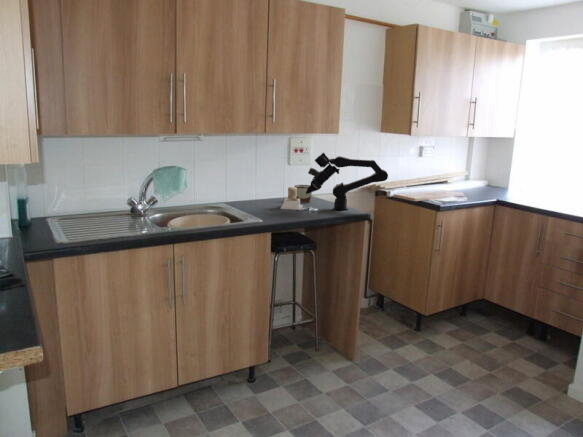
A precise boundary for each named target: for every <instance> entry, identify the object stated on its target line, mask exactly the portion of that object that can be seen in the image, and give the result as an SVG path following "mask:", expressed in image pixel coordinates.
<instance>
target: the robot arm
mask: <svg viewBox="0 0 583 437" xmlns="http://www.w3.org/2000/svg"><path fill="white" fill-rule="evenodd" d="M314 162H315V163H316V165H318V166H319V167H320V168H324V169H323V170H320V171H319V170H317V169H315V168H312V167H310V168H309V170H308V172H307V174H308V175H311V176H313V177H312V180H311V181H310V186H309V188H308V189H307V191H306V194H308V193H311V192H312V193H313V192H316V191H317V192H318V191H320V189H321V188H322V186H323V185H324V184H325V182H326V181H328V180H329V179H330V178H331V177H332V176H333V175H334V174H337V175H339V174H340V168H347V167H359V168H361V167H362V168H370V169H372V170H373V172H374V173H372V174H370V175H369V176H366V177H363V178H361V179H358V180H355V181H352V182H349V183H345V184H344V182H341V183H337V184H335V186H334V187H333V188H332V195H333V196H334V197H335V198H334V202H333V204H334V205H333V206H334V207H332V209H333V210H336V211H339V212H340V211H349V208H348V207H347V204H348V202H347V201H348V199H347V193H348V192H350V191H353V190H356V189H358V188H362V187H364V186H367V185H370V184H373V183H380V182H385V181H387V180H388V178H389V174H388V172H387V170H385V169H382V168H381V166H380V165H379V164H378V163H377V162H376V160H374V159H371V160H368V159H355V158H354V159H353V158H352V159H351V158H350V157H344V156H339V155H338V156H336V157H335V158H330V157H328V156H327V155H326V153H325V152H322V153H321V154H320V155H318V156H317V157H316V158H315V159H314Z"/></svg>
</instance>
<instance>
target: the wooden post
mask: <svg viewBox="0 0 583 437" xmlns="http://www.w3.org/2000/svg"><path fill="white" fill-rule="evenodd" d="M296 197H297V187H294V186H289V187H288V188H287V198H288V201H297V200H296Z"/></svg>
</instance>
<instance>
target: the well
mask: <svg viewBox="0 0 583 437" xmlns="http://www.w3.org/2000/svg"><path fill="white" fill-rule="evenodd" d="M296 200H297V201H288V197H286V198H284V200H283V204H282V205H281V207H280V210H293V211H296V210H297V211H302V210H303V208H304V204H301V202H300V199H296Z"/></svg>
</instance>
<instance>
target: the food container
mask: <svg viewBox="0 0 583 437" xmlns="http://www.w3.org/2000/svg"><path fill="white" fill-rule="evenodd" d="M310 185H311V184H310ZM310 185H309V184H294V186H293V187H297V197H296V199H300V203H306V204H310V203H311V200H312V194H313V192H311V193H308V194H306V191H307V189H308V188H309V186H310Z"/></svg>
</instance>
